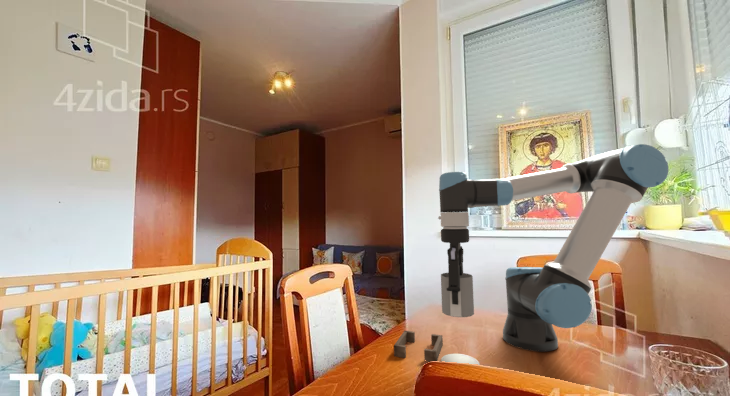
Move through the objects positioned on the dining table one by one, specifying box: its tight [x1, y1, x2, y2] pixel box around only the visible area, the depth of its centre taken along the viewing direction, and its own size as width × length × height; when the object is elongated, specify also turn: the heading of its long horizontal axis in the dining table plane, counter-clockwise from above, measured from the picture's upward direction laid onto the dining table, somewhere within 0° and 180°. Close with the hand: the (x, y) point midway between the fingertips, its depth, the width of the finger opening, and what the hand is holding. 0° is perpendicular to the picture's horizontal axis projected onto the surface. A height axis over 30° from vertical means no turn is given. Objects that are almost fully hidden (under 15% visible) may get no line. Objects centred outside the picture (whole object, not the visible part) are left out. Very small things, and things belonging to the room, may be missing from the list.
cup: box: [440, 272, 475, 318], centre depth 82 cm, size 8×8×10 cm
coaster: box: [440, 353, 481, 365], centre depth 81 cm, size 10×10×1 cm
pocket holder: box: [393, 330, 444, 363], centre depth 89 cm, size 12×12×3 cm
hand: (457, 310), depth 82 cm, fingers closed on cup, 8 cm apart
